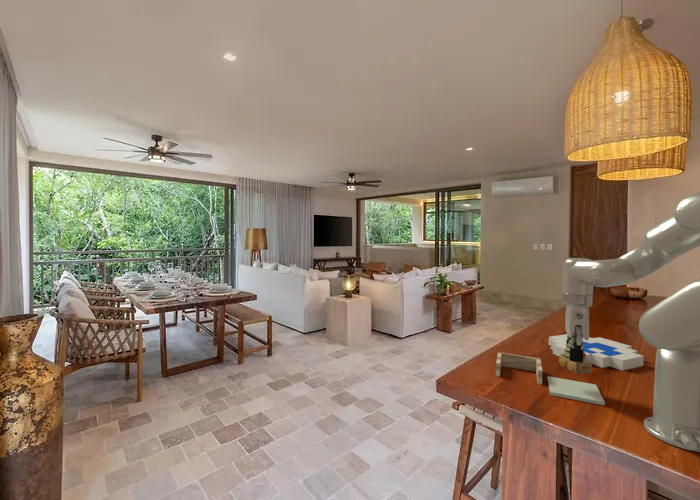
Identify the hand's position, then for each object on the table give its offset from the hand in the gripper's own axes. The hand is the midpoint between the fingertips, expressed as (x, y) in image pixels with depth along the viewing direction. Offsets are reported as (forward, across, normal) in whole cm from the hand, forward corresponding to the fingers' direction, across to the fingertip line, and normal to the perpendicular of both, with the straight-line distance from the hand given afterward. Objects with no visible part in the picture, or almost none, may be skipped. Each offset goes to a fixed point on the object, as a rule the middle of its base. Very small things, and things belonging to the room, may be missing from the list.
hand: (574, 356), depth 99 cm
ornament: (+4, 0, 0) cm, 4 cm away
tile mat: (+11, 0, 0) cm, 11 cm away
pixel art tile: (+11, +40, -11) cm, 43 cm away
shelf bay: (+11, +6, +15) cm, 19 cm away
